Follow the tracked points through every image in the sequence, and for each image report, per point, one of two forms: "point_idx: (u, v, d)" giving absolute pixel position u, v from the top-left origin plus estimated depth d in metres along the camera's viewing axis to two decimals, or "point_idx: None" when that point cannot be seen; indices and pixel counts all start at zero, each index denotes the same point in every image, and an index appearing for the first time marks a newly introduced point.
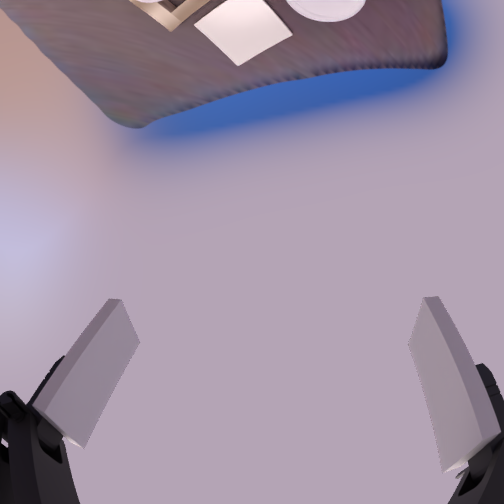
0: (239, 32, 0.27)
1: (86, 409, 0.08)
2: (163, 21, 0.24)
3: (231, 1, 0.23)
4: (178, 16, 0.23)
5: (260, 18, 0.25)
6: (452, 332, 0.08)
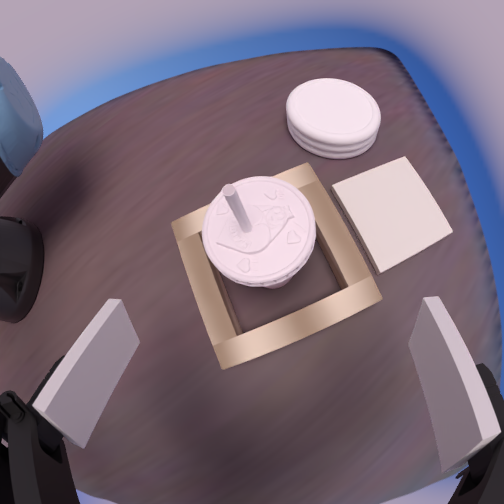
0: (403, 214, 0.23)
1: (86, 409, 0.08)
2: (359, 304, 0.19)
3: (353, 211, 0.24)
4: (359, 277, 0.20)
5: (383, 184, 0.24)
6: (452, 332, 0.08)
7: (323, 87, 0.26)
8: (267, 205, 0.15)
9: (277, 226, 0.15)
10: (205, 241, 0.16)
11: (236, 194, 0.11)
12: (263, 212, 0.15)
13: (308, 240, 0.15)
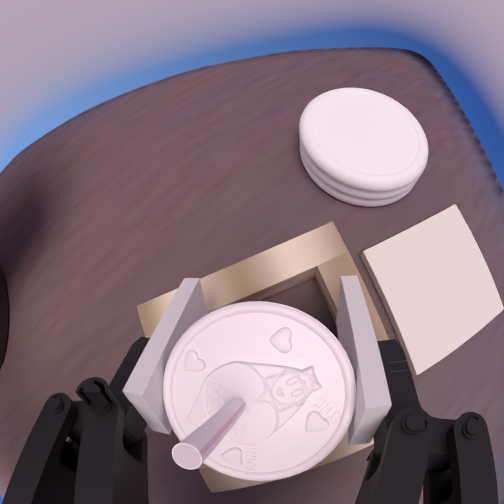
0: (451, 292, 0.15)
1: None
2: None
3: (390, 291, 0.16)
4: None
5: (429, 248, 0.16)
6: (360, 306, 0.10)
7: (350, 100, 0.18)
8: (274, 365, 0.08)
9: (290, 406, 0.07)
10: (169, 410, 0.08)
11: (206, 456, 0.04)
12: (266, 380, 0.08)
13: (341, 426, 0.07)
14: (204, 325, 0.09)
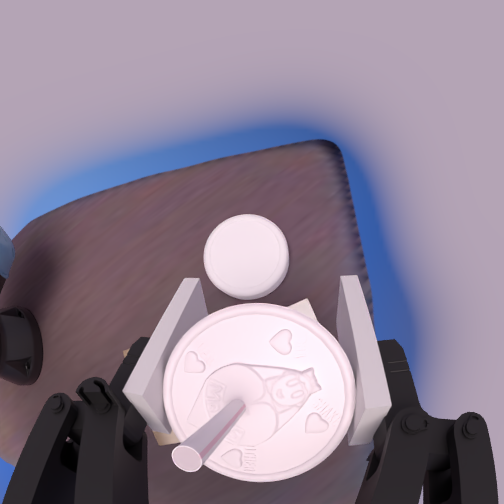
0: None
1: None
2: None
3: None
4: None
5: None
6: (360, 306, 0.10)
7: (239, 228, 0.33)
8: (274, 367, 0.08)
9: (290, 408, 0.07)
10: (169, 412, 0.08)
11: (206, 458, 0.04)
12: (266, 382, 0.08)
13: (340, 428, 0.07)
14: (204, 327, 0.09)
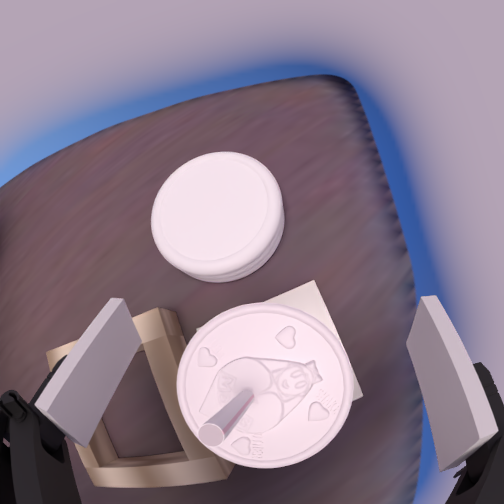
0: None
1: (88, 408, 0.08)
2: (200, 477, 0.14)
3: None
4: (200, 455, 0.15)
5: None
6: (449, 331, 0.08)
7: (205, 171, 0.21)
8: (280, 360, 0.09)
9: (294, 397, 0.08)
10: (182, 403, 0.09)
11: (226, 435, 0.05)
12: (273, 374, 0.09)
13: (340, 416, 0.08)
14: (216, 324, 0.10)
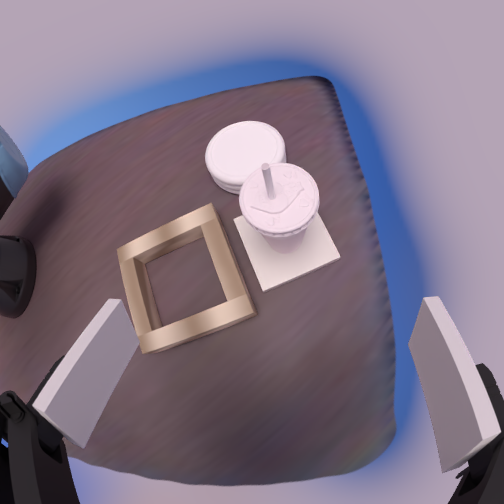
0: None
1: (86, 409, 0.08)
2: (234, 314, 0.27)
3: (246, 240, 0.31)
4: (236, 294, 0.28)
5: None
6: (452, 332, 0.08)
7: (239, 131, 0.34)
8: (285, 182, 0.22)
9: (292, 195, 0.21)
10: (241, 205, 0.22)
11: (269, 169, 0.18)
12: (283, 186, 0.22)
13: (314, 205, 0.21)
14: (257, 171, 0.23)
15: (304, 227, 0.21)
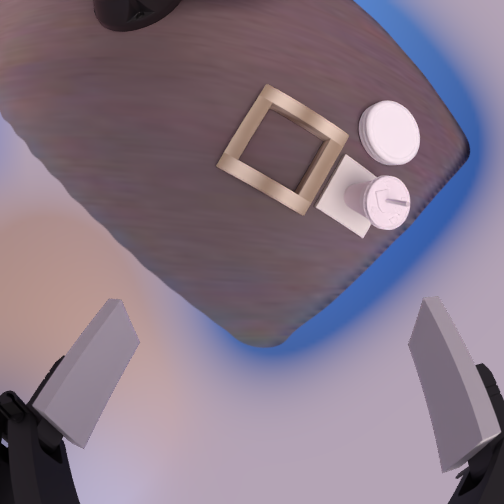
0: None
1: (86, 409, 0.08)
2: (293, 205, 0.36)
3: (338, 173, 0.38)
4: (306, 197, 0.36)
5: None
6: (452, 332, 0.08)
7: (405, 119, 0.34)
8: None
9: (393, 211, 0.29)
10: (373, 185, 0.29)
11: (407, 206, 0.25)
12: None
13: (394, 226, 0.30)
14: (396, 180, 0.29)
15: (379, 227, 0.31)
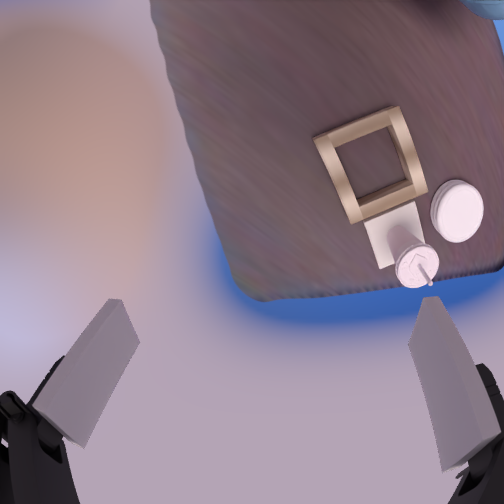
0: None
1: (86, 409, 0.08)
2: (349, 212, 0.38)
3: (398, 211, 0.38)
4: (363, 212, 0.37)
5: (411, 231, 0.39)
6: (452, 332, 0.08)
7: (476, 211, 0.34)
8: (425, 271, 0.32)
9: (416, 276, 0.32)
10: (417, 248, 0.31)
11: (429, 284, 0.28)
12: None
13: (409, 285, 0.33)
14: (436, 256, 0.31)
15: (398, 278, 0.34)
